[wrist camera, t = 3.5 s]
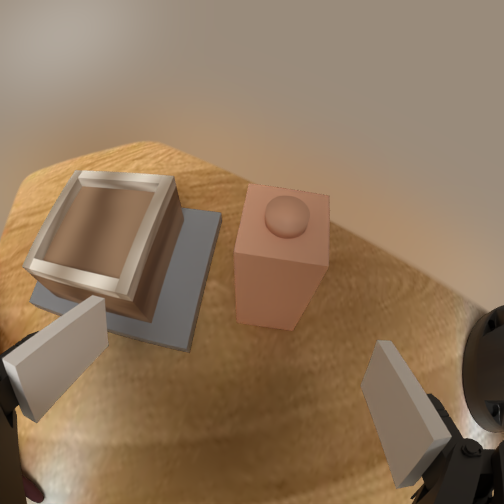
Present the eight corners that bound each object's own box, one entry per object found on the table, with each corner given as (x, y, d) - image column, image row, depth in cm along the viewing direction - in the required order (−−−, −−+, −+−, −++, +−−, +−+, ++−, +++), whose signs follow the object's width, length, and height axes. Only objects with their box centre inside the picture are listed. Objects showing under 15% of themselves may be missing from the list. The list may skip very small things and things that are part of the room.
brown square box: (184, 219, 29) (174, 176, 24) (151, 323, 24) (126, 294, 18) (95, 208, 30) (75, 170, 24) (56, 296, 24) (22, 266, 19)
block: (297, 280, 28) (332, 186, 17) (292, 330, 25) (333, 258, 14) (245, 272, 28) (249, 173, 17) (236, 322, 26) (233, 243, 15)
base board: (221, 221, 31) (221, 212, 30) (189, 352, 24) (186, 348, 23) (83, 204, 32) (79, 196, 31) (36, 307, 25) (29, 301, 24)
